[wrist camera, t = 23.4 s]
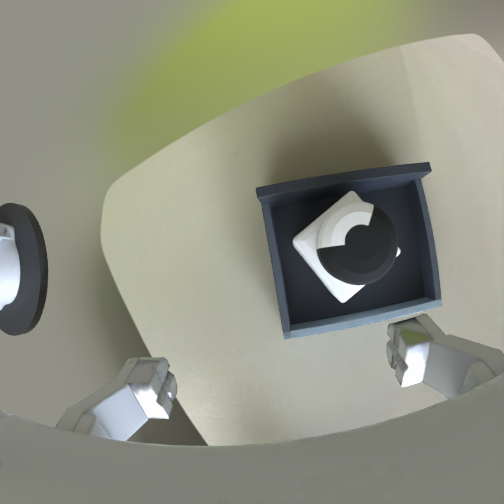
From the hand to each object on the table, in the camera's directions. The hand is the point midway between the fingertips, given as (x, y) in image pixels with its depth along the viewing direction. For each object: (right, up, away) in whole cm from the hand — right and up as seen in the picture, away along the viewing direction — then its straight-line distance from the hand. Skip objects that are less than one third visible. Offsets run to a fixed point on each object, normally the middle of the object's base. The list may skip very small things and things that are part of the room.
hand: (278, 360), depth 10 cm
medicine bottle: (+8, +4, +22) cm, 24 cm away
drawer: (+10, +4, +23) cm, 26 cm away
